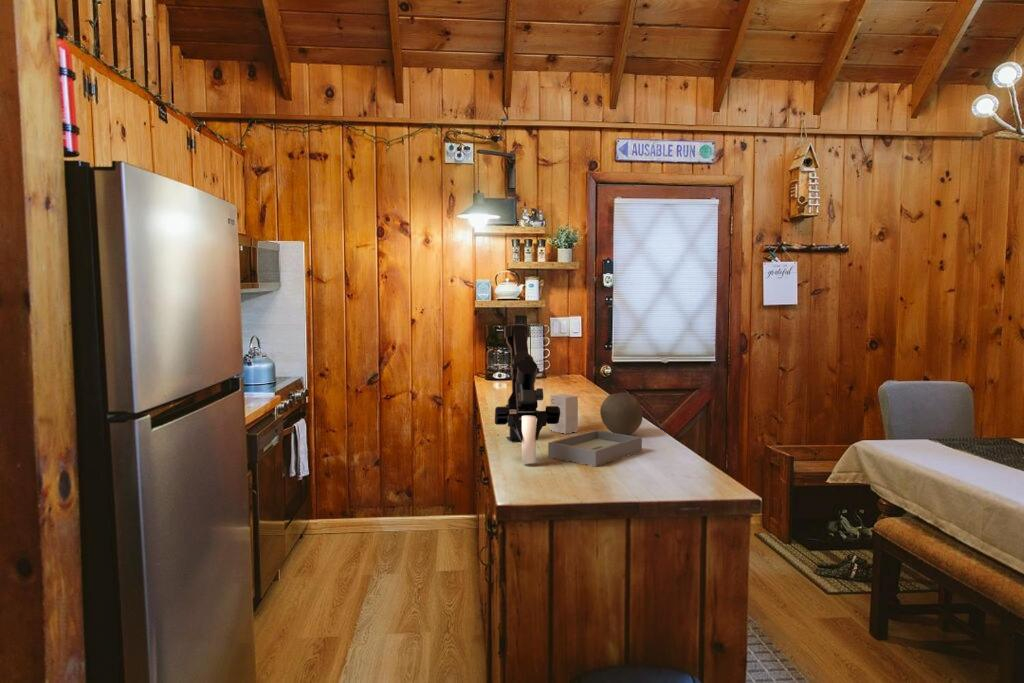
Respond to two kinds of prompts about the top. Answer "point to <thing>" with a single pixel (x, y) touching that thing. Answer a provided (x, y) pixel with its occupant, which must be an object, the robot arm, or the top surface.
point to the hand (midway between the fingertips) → (529, 439)
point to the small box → (565, 413)
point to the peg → (528, 439)
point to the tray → (594, 447)
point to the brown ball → (621, 413)
